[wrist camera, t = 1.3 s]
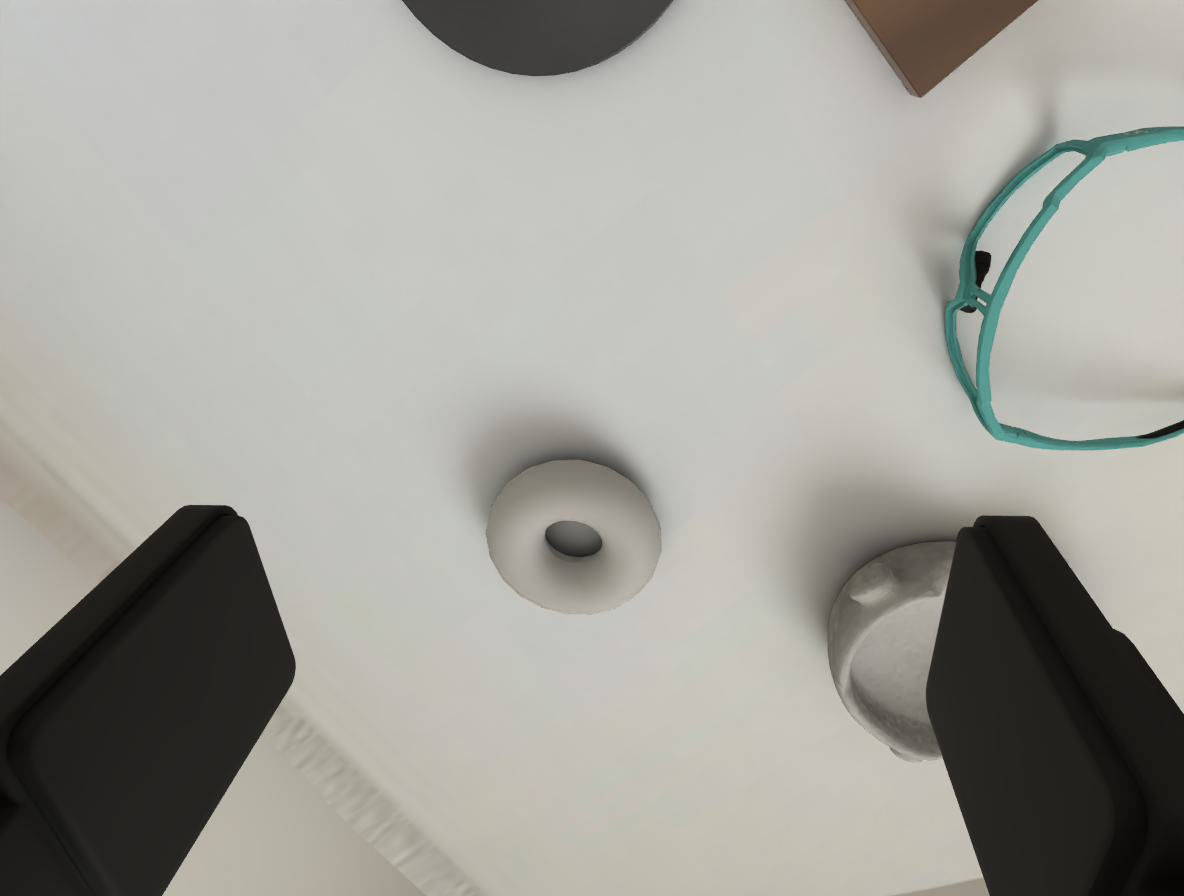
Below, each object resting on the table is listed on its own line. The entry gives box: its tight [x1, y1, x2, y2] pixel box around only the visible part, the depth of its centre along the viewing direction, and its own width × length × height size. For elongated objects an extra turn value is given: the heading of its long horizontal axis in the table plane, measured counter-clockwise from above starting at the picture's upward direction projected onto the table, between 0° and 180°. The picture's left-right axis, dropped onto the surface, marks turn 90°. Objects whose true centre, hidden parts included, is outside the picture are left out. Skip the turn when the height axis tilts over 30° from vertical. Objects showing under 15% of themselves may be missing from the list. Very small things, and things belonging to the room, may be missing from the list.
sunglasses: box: [945, 127, 1184, 450], centre depth 32 cm, size 14×15×5 cm
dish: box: [828, 541, 956, 762], centre depth 42 cm, size 14×14×5 cm
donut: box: [486, 460, 661, 614], centre depth 42 cm, size 10×4×10 cm
